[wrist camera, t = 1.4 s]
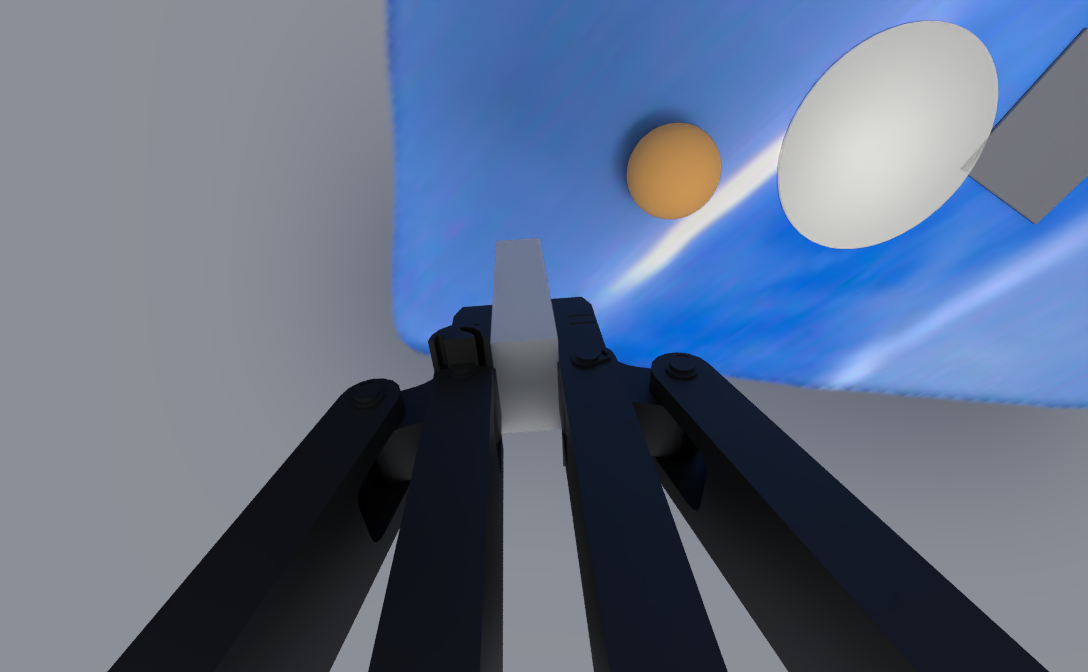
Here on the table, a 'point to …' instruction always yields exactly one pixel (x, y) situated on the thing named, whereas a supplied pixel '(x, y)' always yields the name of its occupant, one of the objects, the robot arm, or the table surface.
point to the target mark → (887, 134)
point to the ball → (673, 170)
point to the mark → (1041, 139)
